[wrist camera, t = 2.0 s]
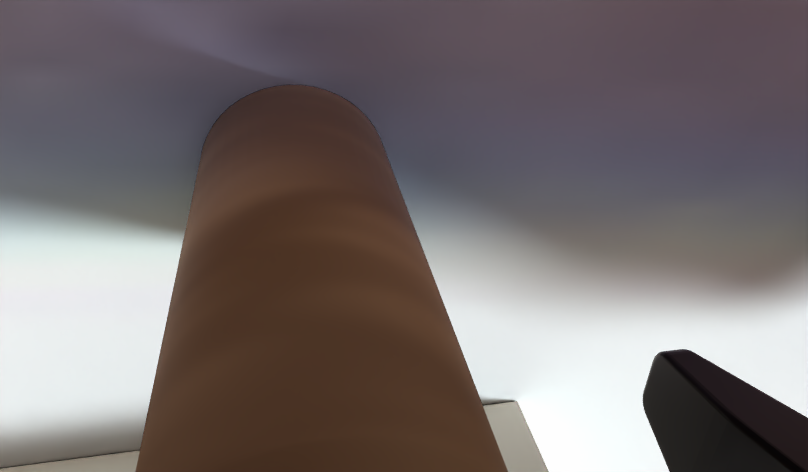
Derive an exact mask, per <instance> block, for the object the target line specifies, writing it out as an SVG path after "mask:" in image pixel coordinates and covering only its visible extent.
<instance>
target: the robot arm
mask: <svg viewBox="0 0 808 472" xmlns="http://www.w3.org/2000/svg"><path fill="white" fill-rule="evenodd" d="M643 406H644V410H645V413H646V416H647V418H648V420H649V423H650V425H651V428H652V430H653V433H654V435H655V437H656V440H657V442H658V445H659V447H660V449H661V452H662V454H663V457H664V459H665V462H666V464H667V466H668V469H669V471H670V472H808V418H807V417H805V416H804V415H802V414H800V413H798V412H797V411H795V410H793V409H791V408H790V407H788V406H786V405H784V404H783V403H781V402H779V401H777V400H776V399H774V398H772V397H770V396H769V395H767V394H765V393H764V392H762V391H760V390H758V389H757V388H755V387H753V386H751V385H750V384H748V383H746V382H744V381H743V380H741V379H739V378H737V377H736V376H734V375H732V374H730V373H729V372H727V371H725V370H723V369H722V368H720V367H718V366H716V365H715V364H713V363H711V362H710V361H708V360H706V359H704V358H703V357H701V356H699V355H697V354H696V353H694V352H692V351H690V350H685V349H680V350H672V351H663V352H660V353H658V354H657V355H656V356H655V358H654V360H653V363H652V366H651V369H650V373H649V376H648V379H647V383H646V386H645V389H644V393H643Z"/></svg>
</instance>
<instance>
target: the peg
mask: <svg viewBox="0 0 808 472" xmlns="http://www.w3.org/2000/svg"><path fill="white" fill-rule="evenodd" d="M135 472H508V470H507V468H506V465H505V462H504V460H503V457H502V455H501V452H500V449H499V447H498V444H497V442H496V439H495V436H494V434H493V431H492V428H491V426H490V423H489V421H488V418H487V415H486V413H485V410H484V408H483V405H482V402H481V400H480V397H479V395H478V392H477V389H476V387H475V384H474V382H473V379H472V376H471V374H470V371H469V369H468V366H467V363H466V361H465V358H464V355H463V353H462V350H461V348H460V345H459V342H458V340H457V337H456V335H455V332H454V329H453V327H452V324H451V322H450V319H449V316H448V314H447V311H446V309H445V306H444V303H443V301H442V298H441V296H440V293H439V290H438V288H437V285H436V283H435V280H434V277H433V275H432V272H431V269H430V267H429V264H428V262H427V259H426V256H425V254H424V251H423V249H422V246H421V243H420V241H419V238H418V236H417V233H416V230H415V228H414V225H413V223H412V220H411V217H410V215H409V212H408V210H407V207H406V204H405V202H404V199H403V196H402V194H401V191H400V189H399V186H398V183H397V181H396V178H395V176H394V173H393V170H392V168H391V165H390V163H389V160H388V157H387V155H386V152H385V150H384V147H383V144H382V142H381V139H380V137H379V135H378V133H377V131H376V129H375V127H374V126H373V125H372V123H371V122H370V121H369V119H368V118H367V117H366V116H365V115H364V114H363V113H362V112H361V111H360V110H359V109H358V108H357V107H356V106H354V105H353V104H352V103H350V102H349V101H347V100H346V99H344V98H342V97H340V96H339V95H336V94H334V93H332V92H329V91H327V90H323V89H320V88H316V87H311V86H304V85H283V86H275V87H270V88H266V89H262V90H260V91H257V92H254V93H252V94H249V95H248V96H246V97H244V98H242V99H240V100H239V101H237V102H236V103H234V104H233V105H232V106H230V107H229V108H228V109H227V110H226V111H225V112H224V113H223V114H222V115H221V116H220V117H219V118H218V119H217V121H216V122H215V123H214V125H213V126H212V128H211V130H210V131H209V133H208V135H207V137H206V140H205V142H204V145H203V148H202V153H201V158H200V162H199V167H198V172H197V177H196V182H195V187H194V191H193V196H192V201H191V206H190V211H189V216H188V220H187V225H186V230H185V235H184V240H183V245H182V249H181V254H180V259H179V264H178V269H177V274H176V278H175V283H174V288H173V293H172V298H171V302H170V307H169V312H168V317H167V322H166V327H165V331H164V336H163V341H162V346H161V351H160V356H159V360H158V365H157V370H156V375H155V380H154V385H153V389H152V394H151V399H150V404H149V409H148V414H147V418H146V423H145V428H144V433H143V438H142V442H141V447H140V452H139V457H138V462H137V467H136V471H135Z"/></svg>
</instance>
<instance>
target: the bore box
mask: <svg viewBox="0 0 808 472" xmlns="http://www.w3.org/2000/svg"><path fill="white" fill-rule="evenodd" d="M483 408H484V410H485V413H486V415H487V418H488V421H489V423H490V426H491V428H492V431H493V434H494V436H495V439H496V442H497V444H498V447H499V449H500V452H501V455H502V457H503V460H504V462H505V465H506V468H507V470H508V472H548V469H547V467H546V465H545V463H544V461H543V458H542V456H541V454H540V452H539V449H538V447H537V445H536V443H535V440H534V438H533V436H532V434H531V431H530V429H529V427H528V425H527V423H526V420H525V418H524V416H523V414H522V411H521V409H520V407H519V405H518V402H517V401H515V402H507V403H500V404H492V405H484V406H483ZM139 452H140V451H132V452H124V453H117V454H109V455H101V456H94V457H86V458H78V459H71V460H63V461H55V462H48V463H40V464H33V465H25V466H17V467H10V468H2V469H0V472H135V471H136V467H137V462H138V457H139Z"/></svg>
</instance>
